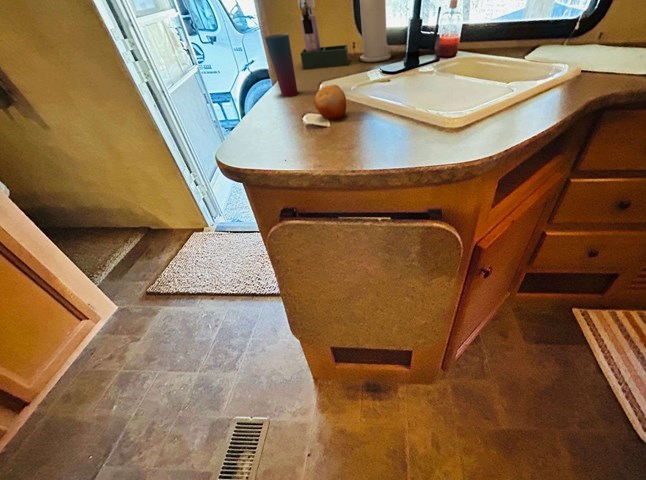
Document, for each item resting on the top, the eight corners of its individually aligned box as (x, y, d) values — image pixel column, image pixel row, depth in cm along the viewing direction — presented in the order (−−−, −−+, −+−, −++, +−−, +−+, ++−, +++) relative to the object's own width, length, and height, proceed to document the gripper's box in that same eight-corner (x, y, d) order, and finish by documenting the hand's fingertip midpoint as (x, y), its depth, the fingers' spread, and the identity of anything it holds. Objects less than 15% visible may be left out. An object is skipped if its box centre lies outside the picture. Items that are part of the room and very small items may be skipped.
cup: (298, 96, 97) (285, 36, 86) (277, 98, 97) (261, 38, 87) (302, 90, 102) (290, 32, 91) (281, 91, 102) (267, 34, 92)
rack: (348, 60, 130) (347, 44, 126) (347, 65, 123) (345, 49, 119) (306, 64, 130) (303, 48, 127) (303, 69, 124) (300, 53, 120)
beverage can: (323, 60, 128) (316, 13, 118) (322, 63, 124) (314, 14, 113) (308, 61, 128) (300, 14, 118) (307, 65, 124) (298, 16, 114)
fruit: (353, 103, 83) (345, 78, 75) (347, 129, 81) (338, 105, 74) (325, 103, 85) (315, 78, 77) (319, 128, 83) (307, 105, 76)
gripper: (306, -36, 100) (317, 34, 113) (313, -35, 113) (322, 28, 125) (283, -33, 101) (297, 36, 113) (293, -33, 113) (304, 30, 126)
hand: (310, 31), depth 119 cm, fingers closed on beverage can, 6 cm apart
